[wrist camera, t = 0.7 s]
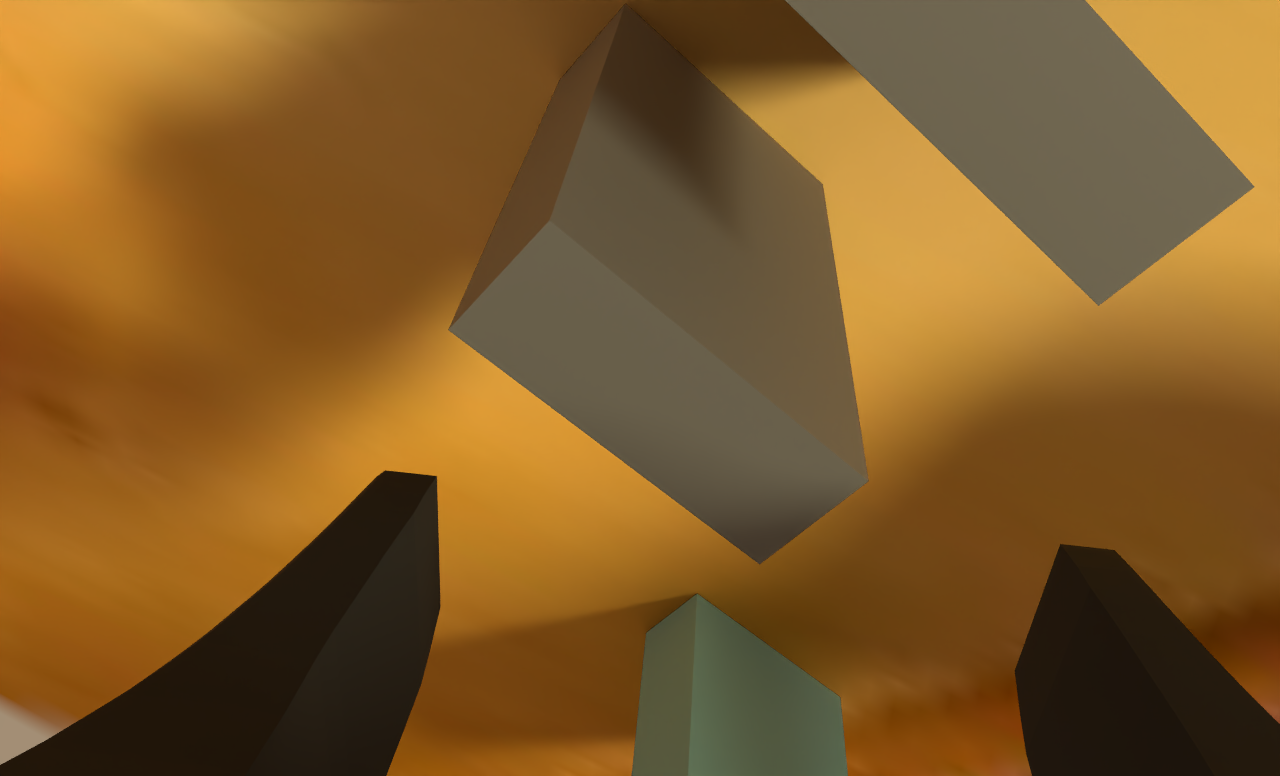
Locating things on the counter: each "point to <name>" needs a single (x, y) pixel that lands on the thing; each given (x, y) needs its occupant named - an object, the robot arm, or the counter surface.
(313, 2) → the counter surface
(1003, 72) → the domino
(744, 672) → the domino
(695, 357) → the domino
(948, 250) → the counter surface
